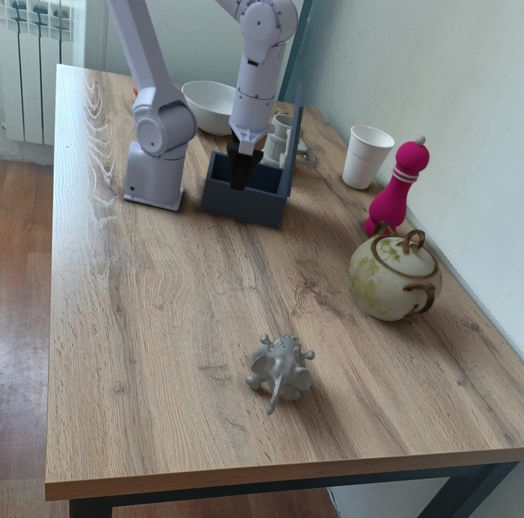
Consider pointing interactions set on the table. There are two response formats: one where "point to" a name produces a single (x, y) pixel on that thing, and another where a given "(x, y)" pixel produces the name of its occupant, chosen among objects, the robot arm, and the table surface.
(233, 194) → the compartment
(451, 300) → the table surface
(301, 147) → the knife
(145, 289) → the table surface
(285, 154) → the mug
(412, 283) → the sugar bowl
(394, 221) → the pepper mill
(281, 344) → the elephant statuette
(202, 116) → the cereal bowl
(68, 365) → the table surface
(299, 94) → the lid
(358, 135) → the cup
